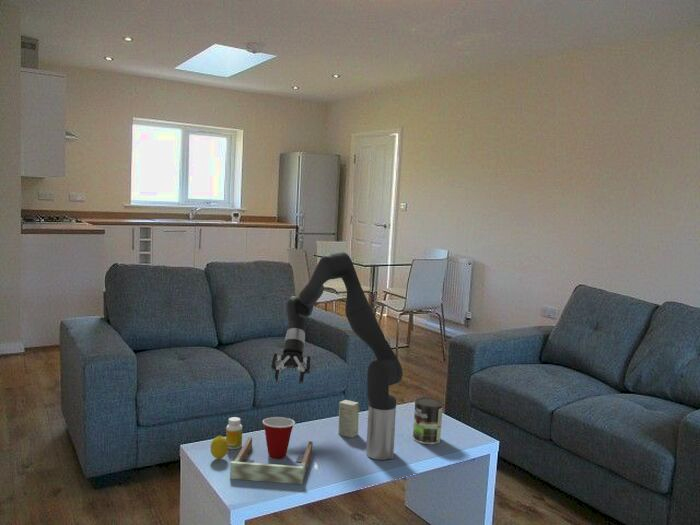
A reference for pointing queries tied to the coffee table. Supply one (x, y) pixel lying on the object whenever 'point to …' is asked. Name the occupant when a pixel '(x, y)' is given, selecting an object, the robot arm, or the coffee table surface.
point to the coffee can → (427, 420)
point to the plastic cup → (278, 435)
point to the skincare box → (348, 418)
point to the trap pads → (299, 460)
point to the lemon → (219, 447)
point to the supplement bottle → (234, 433)
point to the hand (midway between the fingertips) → (288, 381)
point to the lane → (268, 468)
